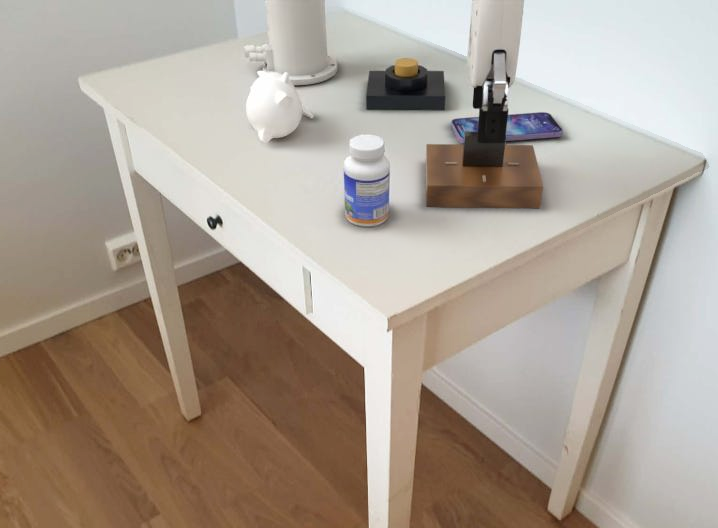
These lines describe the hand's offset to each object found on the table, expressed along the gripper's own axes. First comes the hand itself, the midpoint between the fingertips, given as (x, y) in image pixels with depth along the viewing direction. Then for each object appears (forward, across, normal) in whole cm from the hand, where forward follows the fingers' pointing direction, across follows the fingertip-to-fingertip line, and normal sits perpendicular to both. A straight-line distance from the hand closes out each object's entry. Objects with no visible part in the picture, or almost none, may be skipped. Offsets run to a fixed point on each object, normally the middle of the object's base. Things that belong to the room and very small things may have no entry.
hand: (487, 124), depth 88 cm
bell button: (+4, -28, -10) cm, 30 cm away
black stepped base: (+8, -28, -10) cm, 31 cm away
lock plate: (+8, 0, 0) cm, 8 cm away
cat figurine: (+8, -16, -28) cm, 34 cm away
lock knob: (+5, 0, 0) cm, 5 cm away
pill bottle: (+9, +8, -14) cm, 18 cm away
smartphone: (+8, -16, +4) cm, 19 cm away
